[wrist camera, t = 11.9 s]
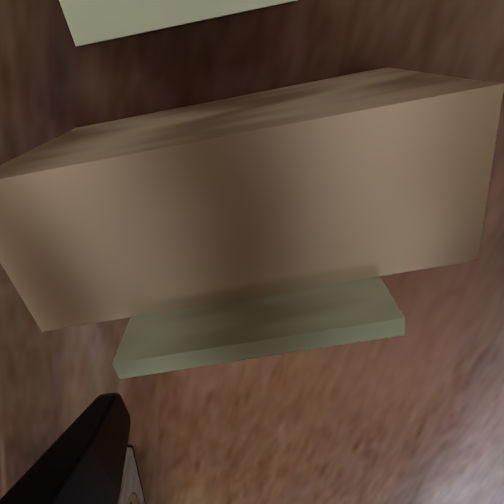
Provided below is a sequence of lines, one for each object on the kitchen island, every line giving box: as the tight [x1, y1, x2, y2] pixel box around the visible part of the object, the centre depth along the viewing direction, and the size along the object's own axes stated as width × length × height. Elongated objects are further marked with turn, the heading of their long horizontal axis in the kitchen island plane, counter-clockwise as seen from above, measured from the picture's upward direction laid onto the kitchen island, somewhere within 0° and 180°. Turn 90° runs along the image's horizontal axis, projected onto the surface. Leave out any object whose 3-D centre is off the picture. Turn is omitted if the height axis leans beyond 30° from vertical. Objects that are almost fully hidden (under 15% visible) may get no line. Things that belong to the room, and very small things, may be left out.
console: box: [0, 67, 504, 379], centre depth 13 cm, size 14×6×10 cm, turn 100°
